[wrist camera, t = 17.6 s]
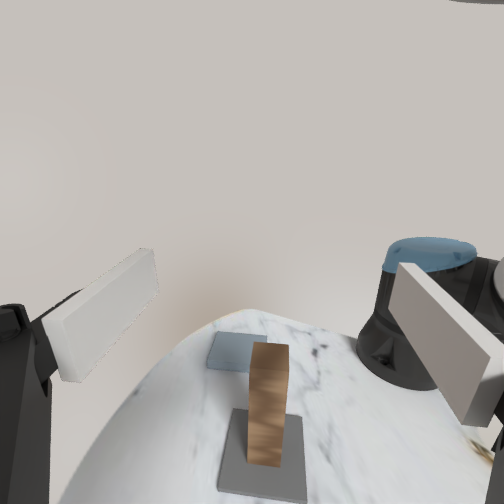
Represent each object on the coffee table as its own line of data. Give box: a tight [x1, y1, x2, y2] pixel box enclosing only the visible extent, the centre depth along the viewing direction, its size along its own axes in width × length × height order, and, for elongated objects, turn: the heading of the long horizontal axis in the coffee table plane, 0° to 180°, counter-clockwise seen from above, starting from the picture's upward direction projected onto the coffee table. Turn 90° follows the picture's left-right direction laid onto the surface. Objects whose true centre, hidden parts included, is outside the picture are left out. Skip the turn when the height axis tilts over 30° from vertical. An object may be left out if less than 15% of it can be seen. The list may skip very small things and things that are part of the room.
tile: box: [207, 331, 267, 373], centre depth 50 cm, size 10×2×8 cm
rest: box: [218, 408, 307, 504], centre depth 35 cm, size 10×10×1 cm
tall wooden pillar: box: [247, 341, 289, 468], centre depth 32 cm, size 4×4×15 cm
